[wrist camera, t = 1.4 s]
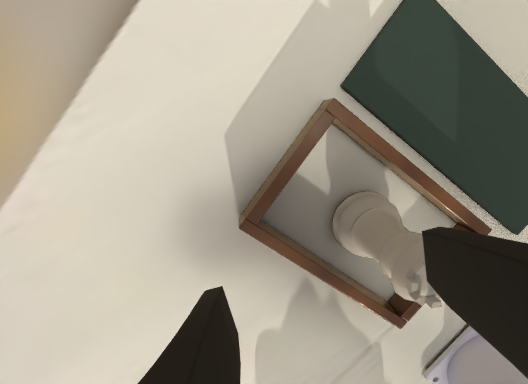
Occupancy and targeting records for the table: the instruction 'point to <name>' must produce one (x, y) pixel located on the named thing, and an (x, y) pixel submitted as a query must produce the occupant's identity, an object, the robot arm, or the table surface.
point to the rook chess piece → (385, 244)
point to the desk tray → (336, 113)
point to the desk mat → (449, 106)
